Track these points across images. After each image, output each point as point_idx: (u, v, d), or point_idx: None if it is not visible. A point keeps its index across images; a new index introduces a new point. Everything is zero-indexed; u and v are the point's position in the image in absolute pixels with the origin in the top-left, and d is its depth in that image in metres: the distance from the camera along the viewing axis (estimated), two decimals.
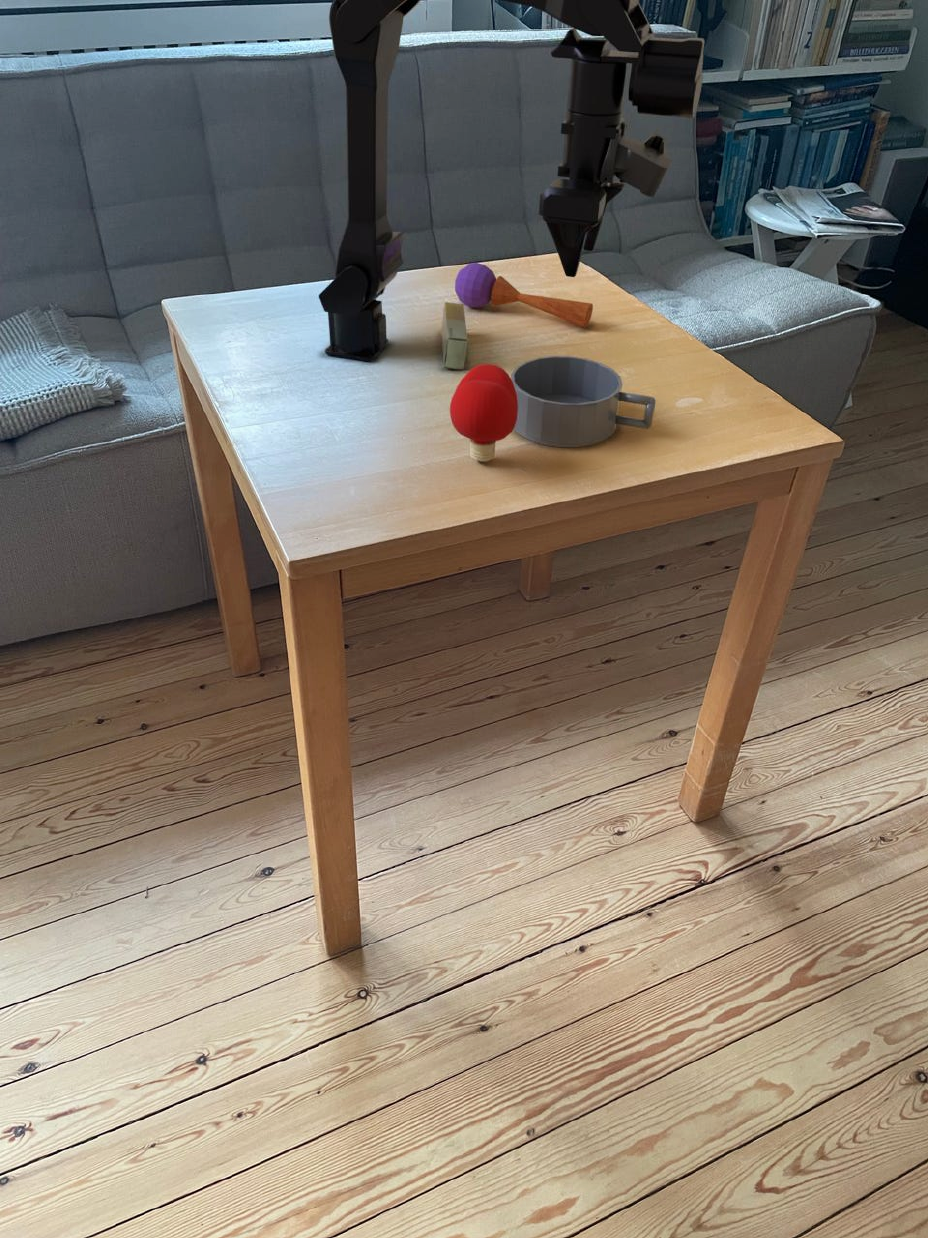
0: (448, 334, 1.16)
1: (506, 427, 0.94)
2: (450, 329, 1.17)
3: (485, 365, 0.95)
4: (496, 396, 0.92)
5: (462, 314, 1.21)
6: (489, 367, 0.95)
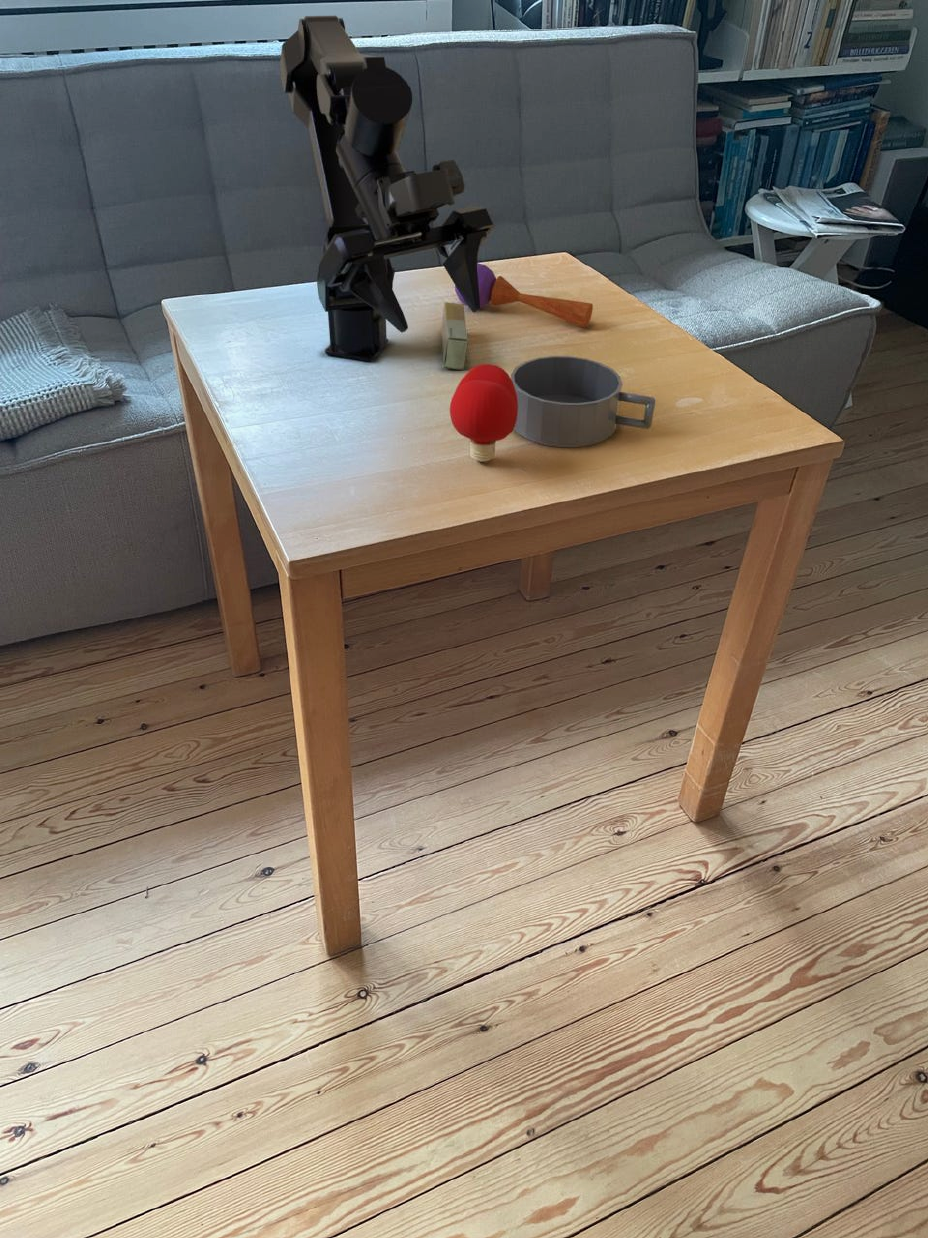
0: (448, 334, 1.16)
1: (506, 427, 0.94)
2: (450, 329, 1.17)
3: (485, 365, 0.95)
4: (496, 396, 0.92)
5: (462, 314, 1.21)
6: (489, 367, 0.95)
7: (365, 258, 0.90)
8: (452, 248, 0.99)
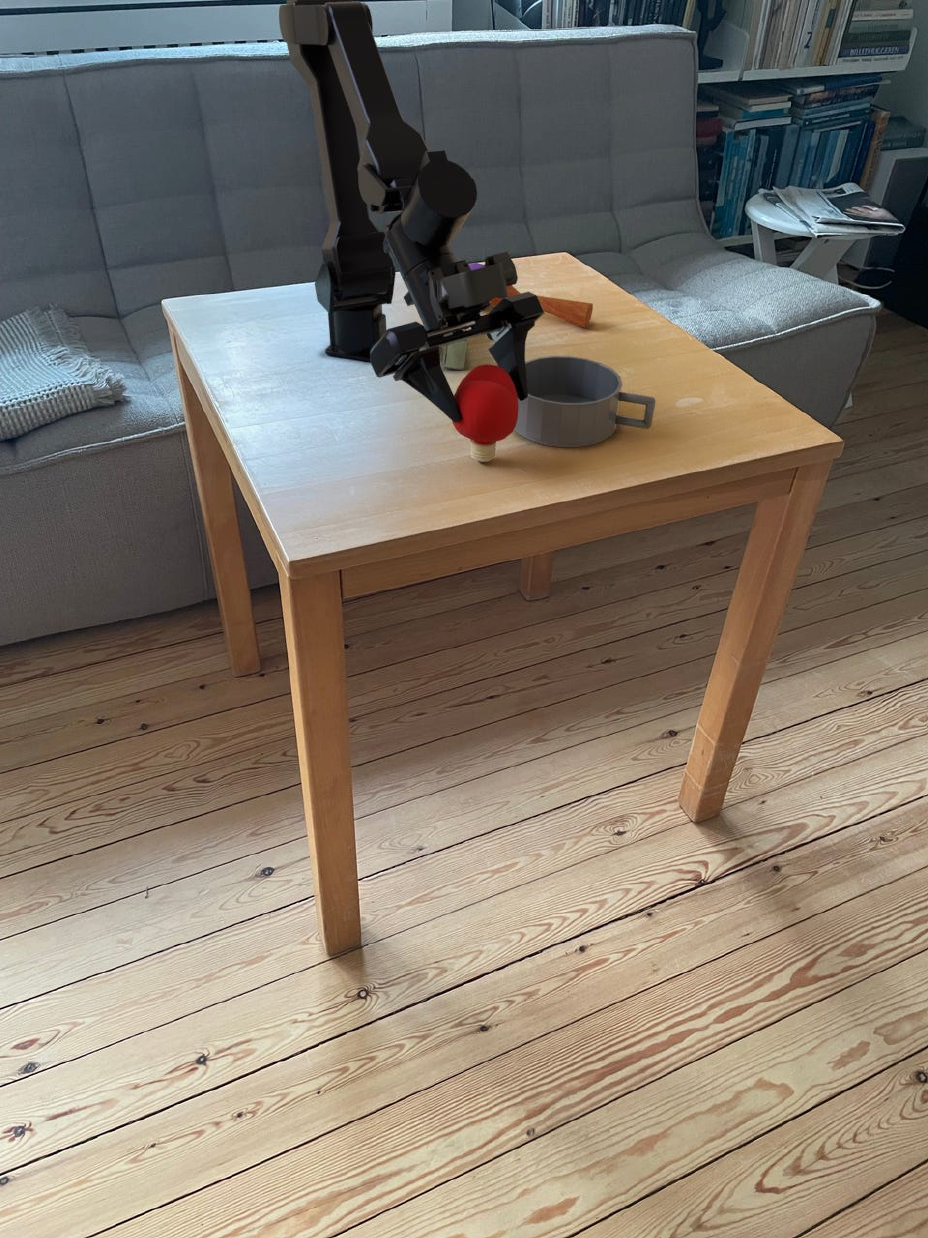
0: None
1: (506, 428, 0.94)
2: None
3: (486, 365, 0.95)
4: (496, 396, 0.92)
5: None
6: (489, 368, 0.95)
7: (421, 352, 0.89)
8: (499, 335, 0.98)
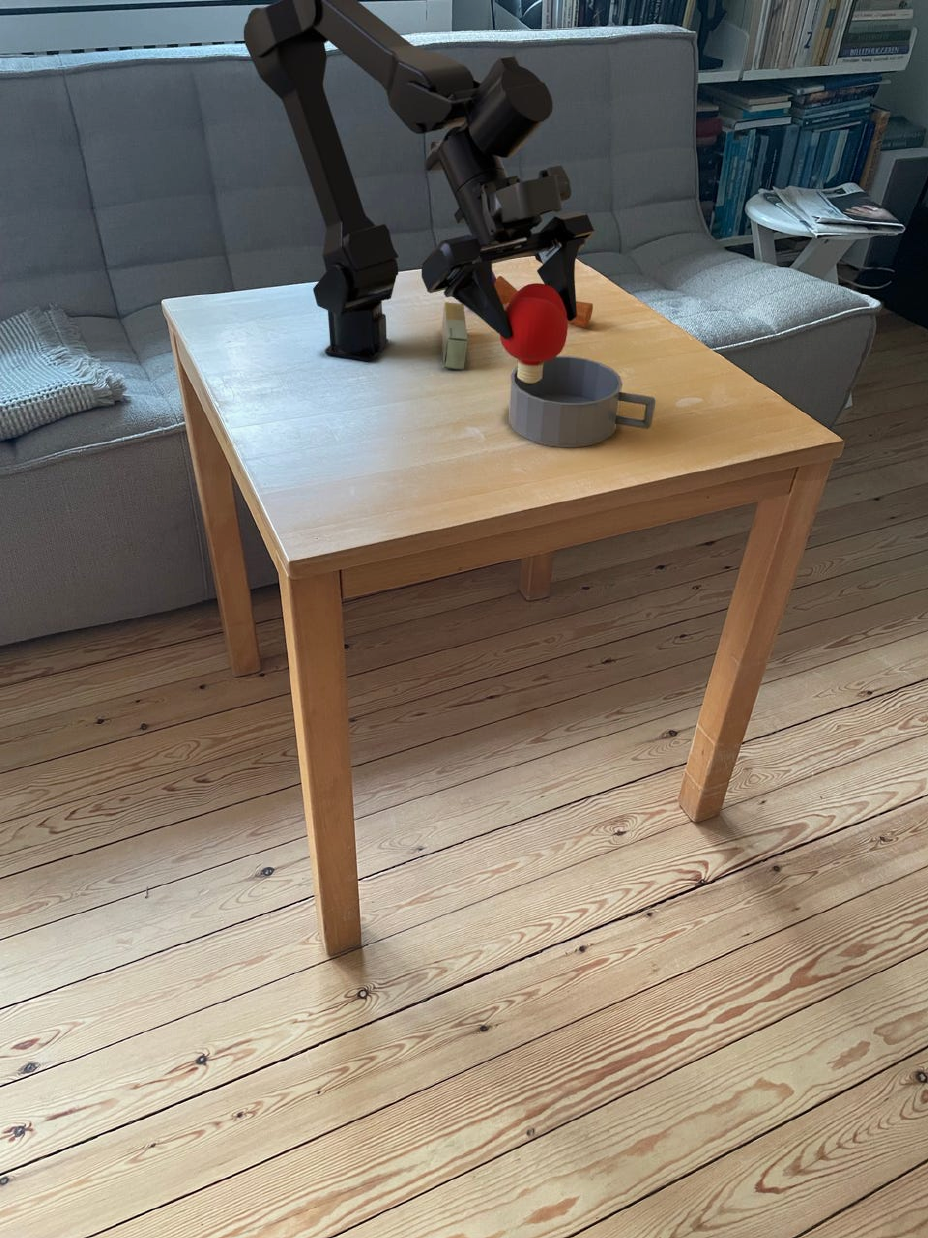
0: (448, 334, 1.16)
1: (556, 346, 0.94)
2: (450, 329, 1.17)
3: (536, 284, 0.95)
4: (547, 312, 0.91)
5: (462, 314, 1.21)
6: (539, 286, 0.95)
7: (474, 264, 0.89)
8: (548, 255, 0.97)
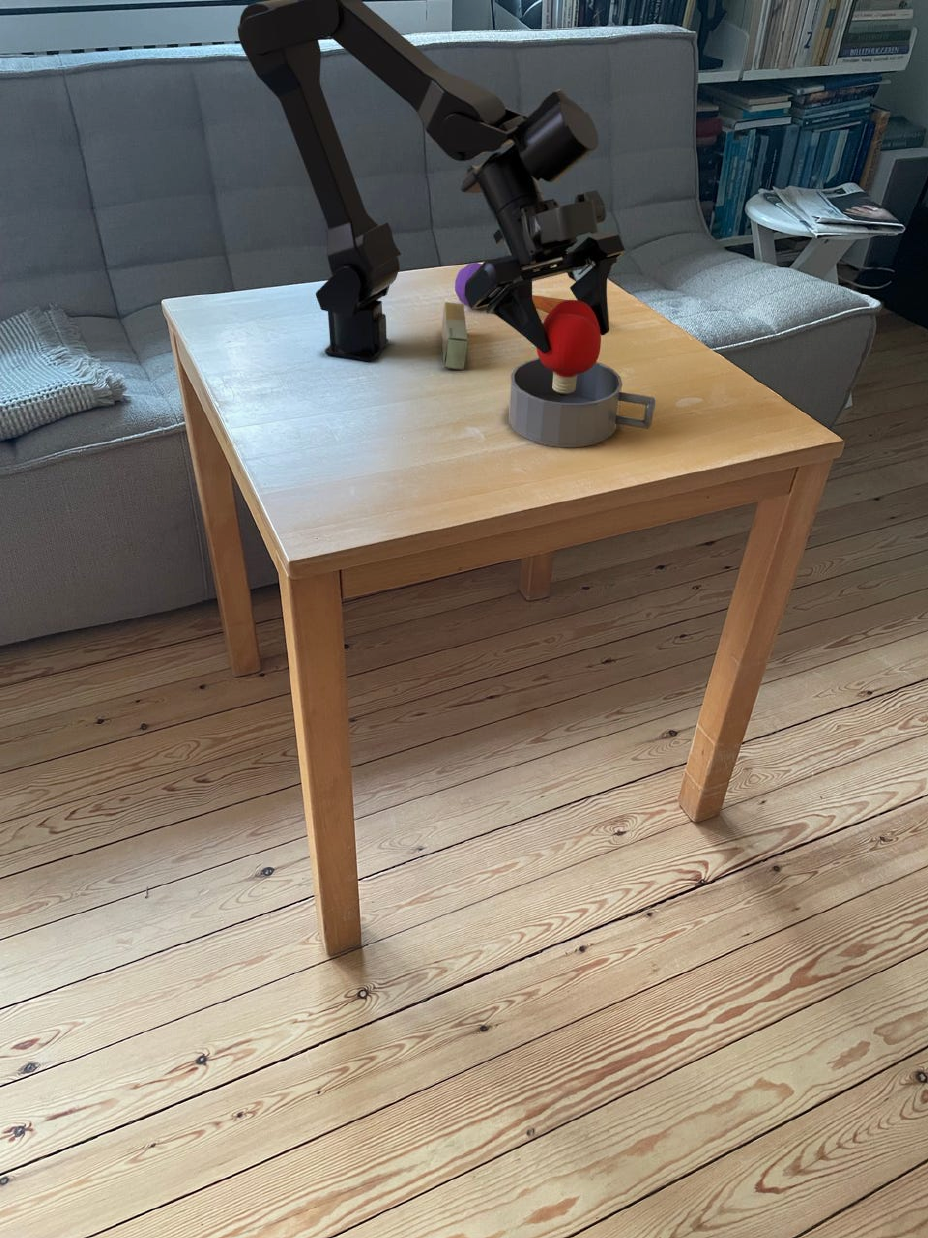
0: (448, 334, 1.16)
1: (591, 359, 1.00)
2: (450, 329, 1.17)
3: (571, 300, 1.01)
4: (584, 328, 0.97)
5: (462, 314, 1.21)
6: (575, 302, 1.00)
7: (516, 283, 0.94)
8: (581, 273, 1.03)
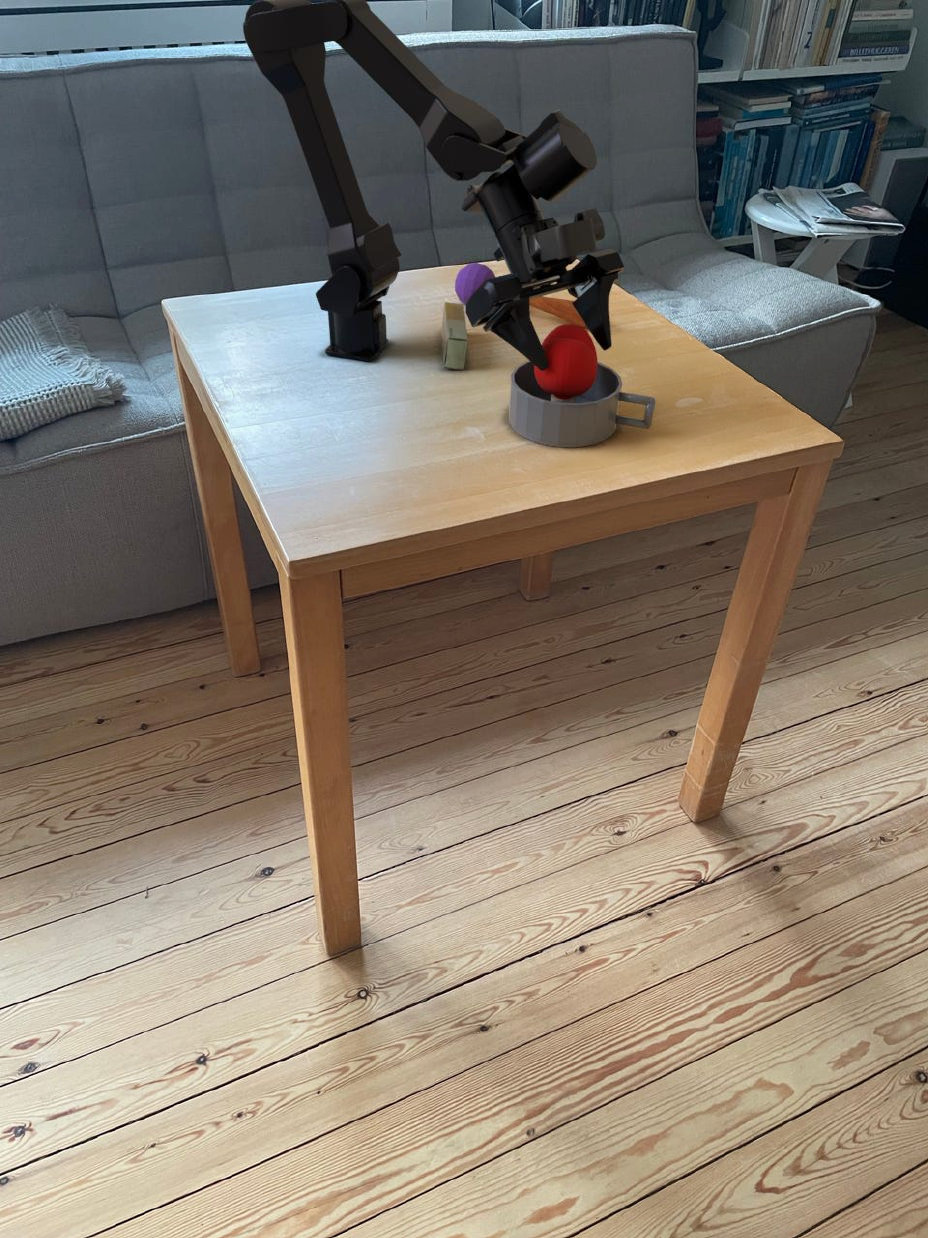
0: (448, 334, 1.16)
1: (588, 382, 1.01)
2: (450, 329, 1.17)
3: (567, 325, 1.02)
4: (580, 352, 0.99)
5: (462, 314, 1.21)
6: (571, 327, 1.02)
7: (514, 302, 0.95)
8: (583, 289, 1.04)
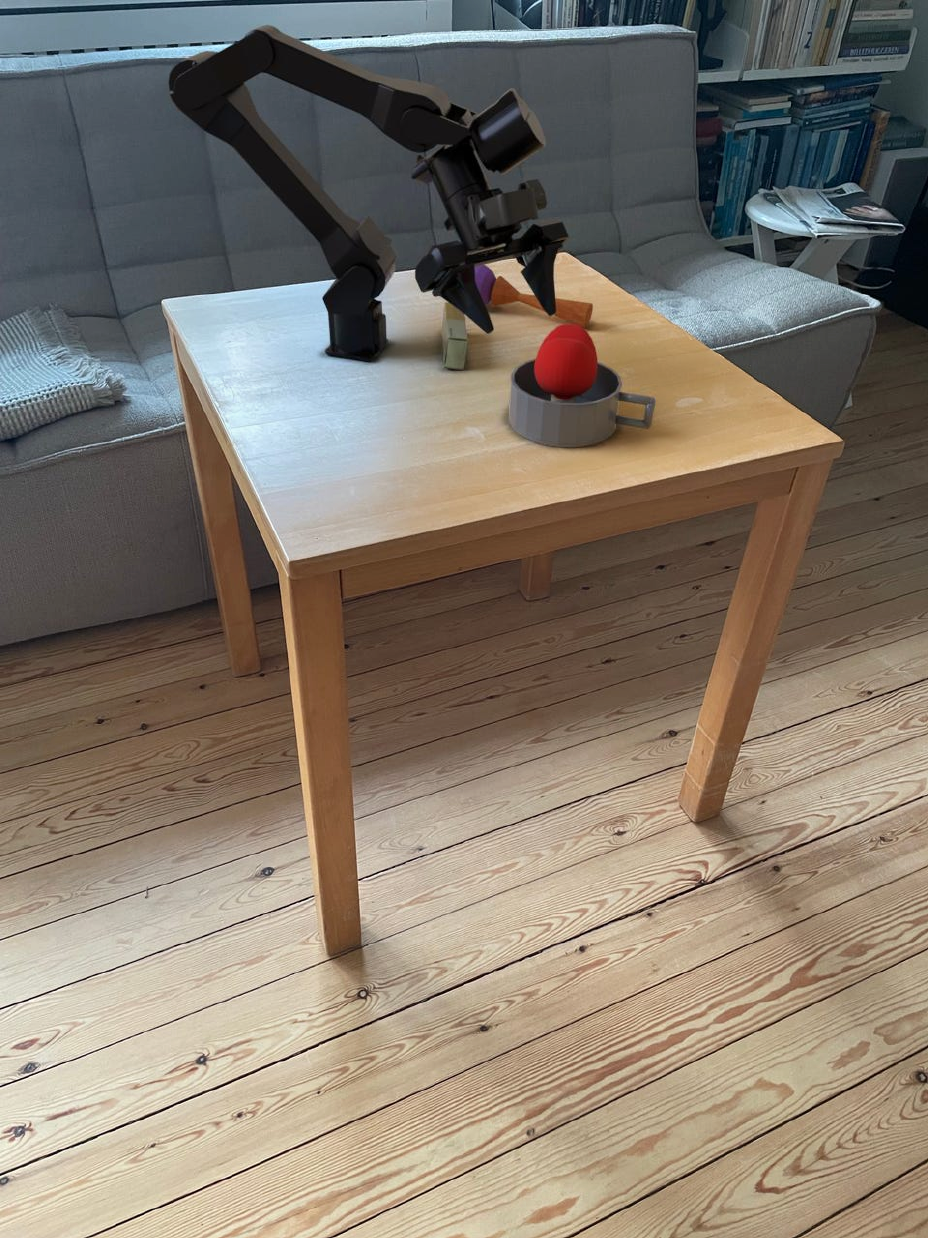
0: (448, 334, 1.16)
1: (588, 382, 1.01)
2: (450, 329, 1.17)
3: (567, 325, 1.02)
4: (580, 352, 0.99)
5: (462, 314, 1.21)
6: (571, 327, 1.02)
7: (459, 267, 1.00)
8: (530, 257, 1.09)
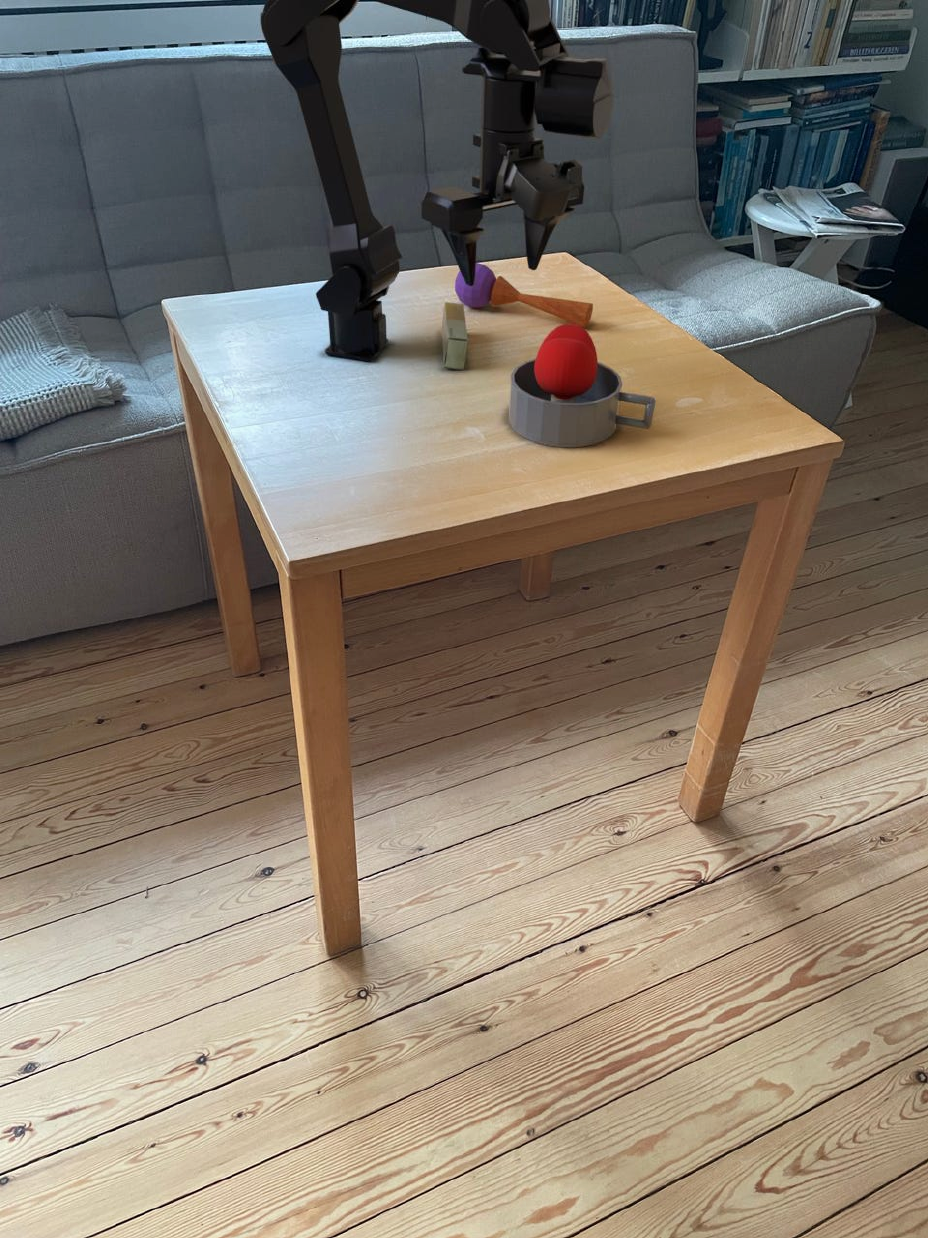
0: (448, 334, 1.16)
1: (588, 382, 1.01)
2: (450, 329, 1.17)
3: (567, 325, 1.02)
4: (580, 352, 0.99)
5: (462, 314, 1.21)
6: (571, 327, 1.02)
7: (468, 233, 0.97)
8: None
